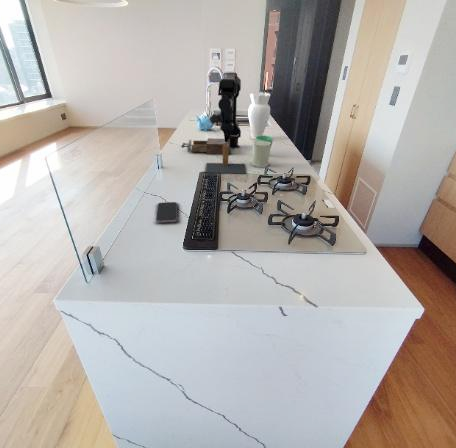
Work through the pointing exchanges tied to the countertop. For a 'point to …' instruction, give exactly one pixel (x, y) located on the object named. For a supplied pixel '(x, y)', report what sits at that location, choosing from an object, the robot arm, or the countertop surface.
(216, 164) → the mat
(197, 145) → the drawer
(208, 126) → the teapot
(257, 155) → the can
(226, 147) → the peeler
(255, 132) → the vase
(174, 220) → the smartphone
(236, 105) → the robot arm
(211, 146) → the cabinet
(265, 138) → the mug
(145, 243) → the countertop surface
